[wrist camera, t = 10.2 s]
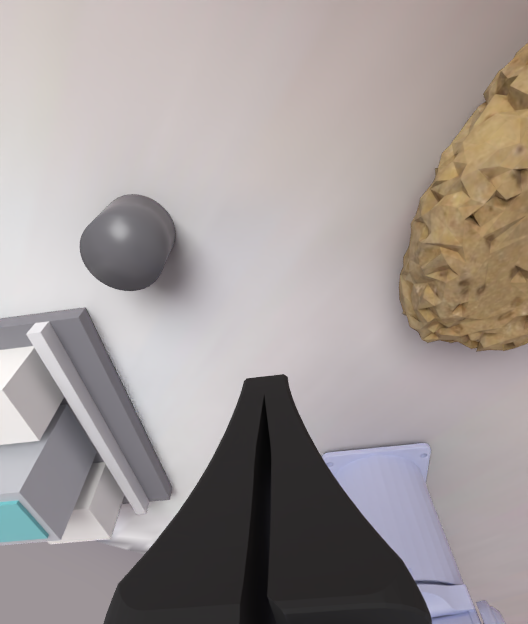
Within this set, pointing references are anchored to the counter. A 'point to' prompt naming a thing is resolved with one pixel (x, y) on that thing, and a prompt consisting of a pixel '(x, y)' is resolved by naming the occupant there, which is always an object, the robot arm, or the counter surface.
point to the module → (43, 481)
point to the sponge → (476, 228)
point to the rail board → (78, 414)
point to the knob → (128, 243)
